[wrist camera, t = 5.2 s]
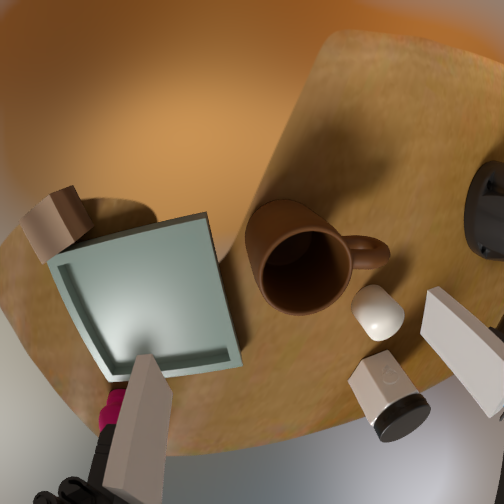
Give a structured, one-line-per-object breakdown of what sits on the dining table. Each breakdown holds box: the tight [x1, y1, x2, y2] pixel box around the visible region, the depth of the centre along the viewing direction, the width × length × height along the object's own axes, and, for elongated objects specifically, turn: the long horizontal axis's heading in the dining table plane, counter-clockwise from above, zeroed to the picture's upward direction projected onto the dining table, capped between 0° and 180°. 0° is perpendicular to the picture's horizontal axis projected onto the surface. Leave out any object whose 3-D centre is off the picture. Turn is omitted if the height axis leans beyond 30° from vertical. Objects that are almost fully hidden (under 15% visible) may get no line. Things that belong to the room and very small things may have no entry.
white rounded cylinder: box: [351, 284, 404, 341], centre depth 32 cm, size 5×5×5 cm
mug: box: [245, 199, 390, 316], centre depth 25 cm, size 12×8×9 cm, turn 94°
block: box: [19, 185, 94, 265], centre depth 23 cm, size 5×5×5 cm
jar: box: [348, 350, 431, 442], centre depth 34 cm, size 9×8×12 cm
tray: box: [47, 212, 243, 382], centre depth 29 cm, size 18×18×2 cm
